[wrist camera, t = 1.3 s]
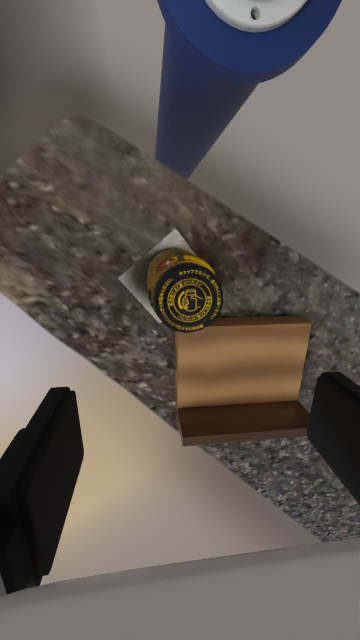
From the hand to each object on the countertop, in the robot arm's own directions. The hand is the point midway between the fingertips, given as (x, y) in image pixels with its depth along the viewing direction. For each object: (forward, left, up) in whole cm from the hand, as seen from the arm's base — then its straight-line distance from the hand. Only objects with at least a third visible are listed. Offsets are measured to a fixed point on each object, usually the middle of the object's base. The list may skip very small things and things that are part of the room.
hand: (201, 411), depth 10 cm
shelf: (+10, +9, -22) cm, 26 cm away
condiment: (-1, 0, -22) cm, 22 cm away
